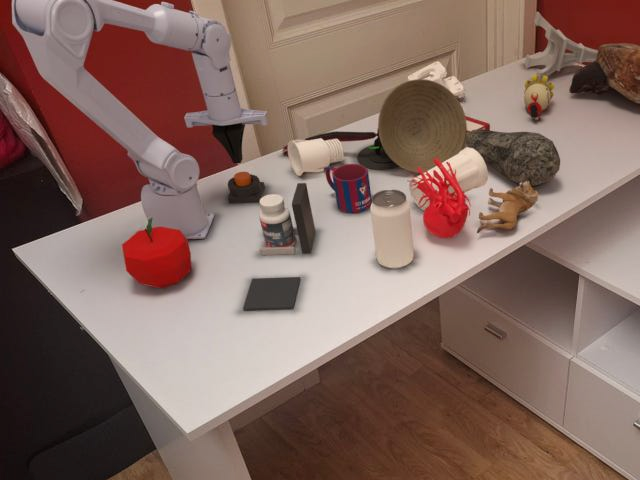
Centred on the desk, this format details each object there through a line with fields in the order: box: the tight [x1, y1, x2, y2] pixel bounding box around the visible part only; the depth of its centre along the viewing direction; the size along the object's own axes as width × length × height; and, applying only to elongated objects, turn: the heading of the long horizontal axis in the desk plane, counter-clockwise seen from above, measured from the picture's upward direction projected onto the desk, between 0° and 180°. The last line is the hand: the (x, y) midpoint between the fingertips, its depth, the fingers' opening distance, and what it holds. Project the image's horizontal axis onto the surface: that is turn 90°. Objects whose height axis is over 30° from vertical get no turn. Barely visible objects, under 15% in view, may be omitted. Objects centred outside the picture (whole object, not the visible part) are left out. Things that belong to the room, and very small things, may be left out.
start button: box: [233, 171, 252, 186], centre depth 136 cm, size 3×3×2 cm
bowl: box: [377, 78, 467, 174], centre depth 145 cm, size 18×18×8 cm
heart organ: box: [408, 158, 471, 239], centre depth 124 cm, size 10×12×12 cm
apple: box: [121, 217, 192, 289], centre depth 115 cm, size 11×11×10 cm
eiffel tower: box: [524, 11, 599, 81], centre depth 182 cm, size 13×13×30 cm
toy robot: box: [356, 130, 401, 171], centre depth 145 cm, size 12×12×12 cm
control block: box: [226, 173, 266, 204], centre depth 137 cm, size 6×6×3 cm
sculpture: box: [568, 42, 640, 104], centre depth 165 cm, size 16×17×25 cm
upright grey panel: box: [259, 182, 316, 256], centre depth 122 cm, size 9×7×10 cm
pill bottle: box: [258, 193, 297, 248], centre depth 123 cm, size 5×5×9 cm
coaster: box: [242, 276, 301, 312], centre depth 115 cm, size 8×8×1 cm
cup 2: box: [408, 147, 489, 211], centre depth 134 cm, size 8×8×14 cm
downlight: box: [287, 138, 345, 177], centre depth 144 cm, size 8×7×10 cm
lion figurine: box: [476, 181, 539, 234], centre depth 129 cm, size 15×5×9 cm
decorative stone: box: [466, 129, 561, 187], centre depth 140 cm, size 22×10×10 cm
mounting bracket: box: [407, 61, 466, 99], centre depth 171 cm, size 12×6×11 cm
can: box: [370, 188, 415, 270], centre depth 118 cm, size 6×6×12 cm
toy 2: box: [523, 74, 555, 121], centre depth 163 cm, size 7×7×15 cm
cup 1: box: [324, 163, 372, 214], centre depth 134 cm, size 7×10×7 cm
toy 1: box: [282, 131, 377, 156], centre depth 148 cm, size 2×22×5 cm
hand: (238, 160), depth 133 cm, fingers closed
